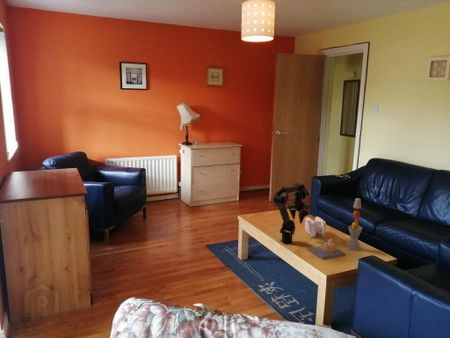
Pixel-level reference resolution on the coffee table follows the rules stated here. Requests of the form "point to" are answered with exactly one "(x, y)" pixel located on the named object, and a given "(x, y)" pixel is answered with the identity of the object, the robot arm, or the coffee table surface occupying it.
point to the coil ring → (329, 247)
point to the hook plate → (323, 254)
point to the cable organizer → (315, 226)
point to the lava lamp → (355, 228)
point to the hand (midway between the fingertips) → (297, 221)
